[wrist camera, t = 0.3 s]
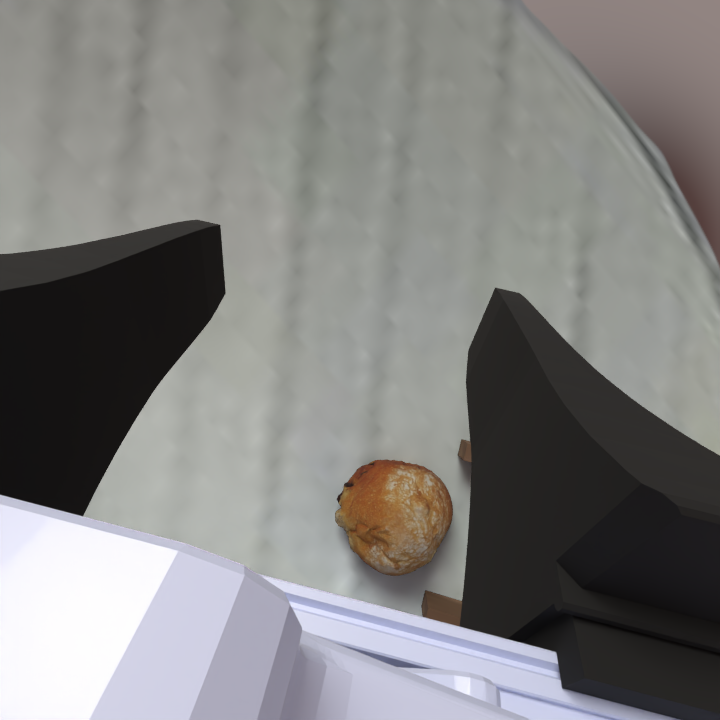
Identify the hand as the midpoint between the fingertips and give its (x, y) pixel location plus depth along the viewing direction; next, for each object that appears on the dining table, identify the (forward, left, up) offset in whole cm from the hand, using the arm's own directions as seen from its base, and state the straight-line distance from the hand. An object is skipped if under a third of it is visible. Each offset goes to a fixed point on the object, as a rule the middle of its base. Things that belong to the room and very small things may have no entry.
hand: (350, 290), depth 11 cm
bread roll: (-13, -5, -29) cm, 33 cm away
